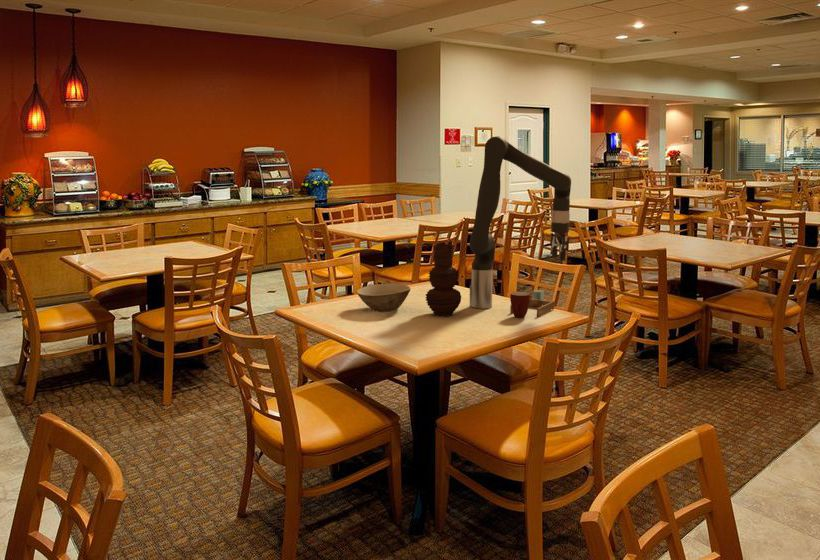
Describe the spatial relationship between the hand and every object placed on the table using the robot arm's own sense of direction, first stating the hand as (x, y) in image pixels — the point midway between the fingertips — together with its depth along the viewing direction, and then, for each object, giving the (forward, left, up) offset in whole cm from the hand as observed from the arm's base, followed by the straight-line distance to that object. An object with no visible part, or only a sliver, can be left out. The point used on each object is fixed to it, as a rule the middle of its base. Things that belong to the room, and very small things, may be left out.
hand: (558, 258), depth 295 cm
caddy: (-9, -6, -23) cm, 25 cm away
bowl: (-66, -37, -23) cm, 79 cm away
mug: (-9, -19, -23) cm, 31 cm away
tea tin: (-13, +10, -23) cm, 28 cm away
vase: (-39, -31, -23) cm, 55 cm away
